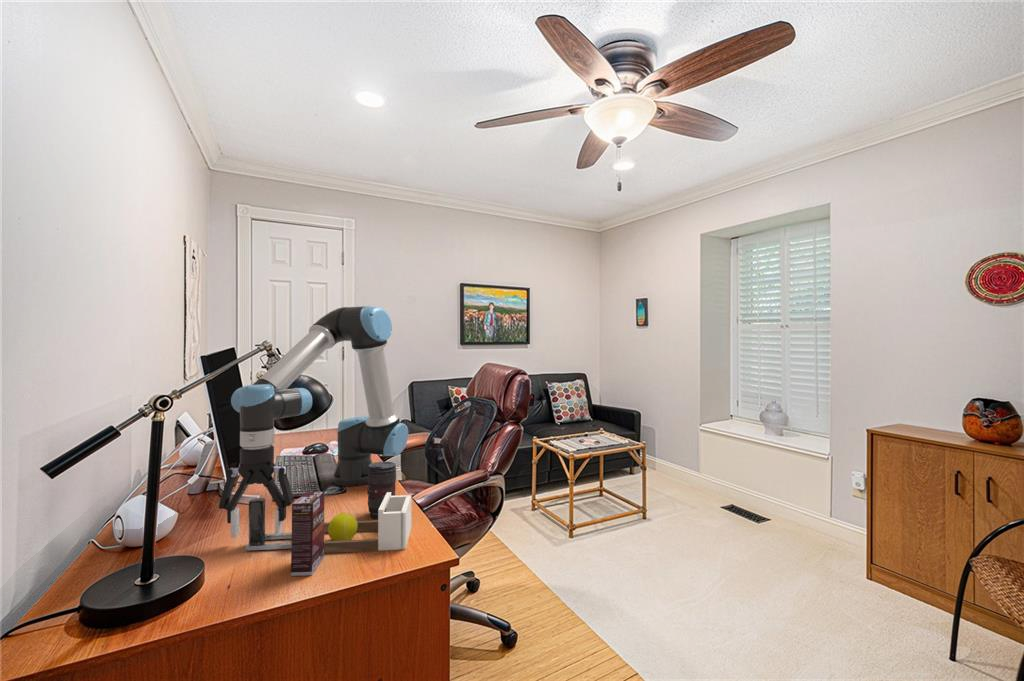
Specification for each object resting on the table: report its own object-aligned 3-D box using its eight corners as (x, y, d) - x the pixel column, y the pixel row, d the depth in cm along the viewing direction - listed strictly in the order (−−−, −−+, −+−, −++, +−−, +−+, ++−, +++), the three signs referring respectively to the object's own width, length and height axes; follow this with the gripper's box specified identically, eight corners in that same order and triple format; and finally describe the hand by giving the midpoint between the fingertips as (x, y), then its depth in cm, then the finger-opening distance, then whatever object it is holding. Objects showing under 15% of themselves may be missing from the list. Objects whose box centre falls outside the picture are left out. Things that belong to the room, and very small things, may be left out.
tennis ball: (322, 545, 115) (322, 517, 115) (340, 533, 122) (340, 507, 122) (345, 548, 113) (345, 520, 113) (362, 537, 120) (362, 510, 120)
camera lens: (388, 521, 130) (388, 468, 130) (362, 519, 132) (362, 467, 132) (400, 510, 138) (400, 461, 138) (376, 508, 140) (376, 460, 140)
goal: (386, 528, 125) (386, 492, 125) (411, 527, 126) (411, 491, 126) (378, 550, 112) (378, 509, 112) (405, 549, 113) (405, 508, 113)
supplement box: (312, 576, 100) (312, 503, 100) (290, 577, 99) (290, 504, 99) (325, 557, 108) (325, 490, 108) (304, 558, 108) (304, 491, 108)
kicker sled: (256, 537, 119) (256, 495, 119) (310, 535, 120) (310, 493, 120) (241, 551, 111) (241, 506, 111) (300, 548, 112) (300, 504, 112)
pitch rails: (322, 531, 123) (322, 522, 123) (386, 528, 125) (386, 519, 125) (306, 554, 110) (306, 544, 110) (378, 550, 112) (378, 540, 112)
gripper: (201, 450, 110) (201, 543, 110) (298, 448, 112) (298, 538, 112) (217, 444, 117) (217, 530, 117) (308, 441, 120) (308, 526, 120)
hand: (257, 534), depth 115 cm, fingers open, 10 cm apart
